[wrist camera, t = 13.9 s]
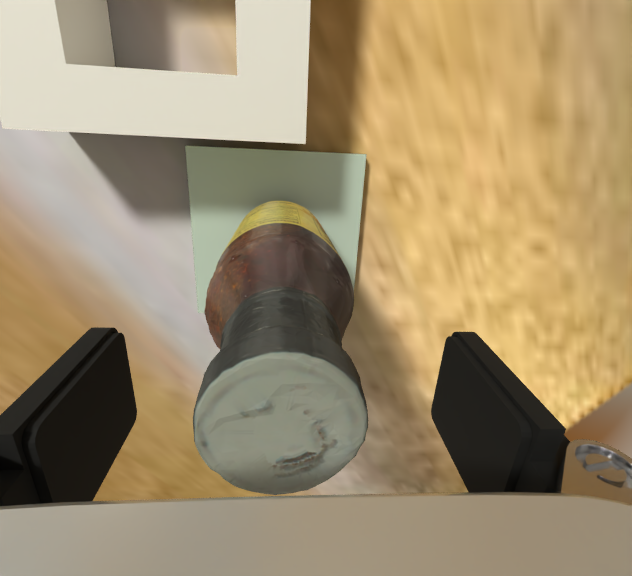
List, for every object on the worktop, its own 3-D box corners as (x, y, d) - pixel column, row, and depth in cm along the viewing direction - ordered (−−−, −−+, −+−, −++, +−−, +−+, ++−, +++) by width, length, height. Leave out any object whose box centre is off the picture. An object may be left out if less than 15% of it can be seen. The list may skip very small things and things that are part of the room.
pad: (363, 154, 26) (366, 154, 25) (350, 309, 30) (351, 313, 30) (188, 145, 25) (185, 145, 24) (200, 308, 29) (197, 312, 28)
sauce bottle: (314, 286, 28) (375, 552, 10) (231, 273, 27) (133, 542, 9) (332, 201, 26) (455, 345, 8) (243, 183, 25) (143, 301, 7)
